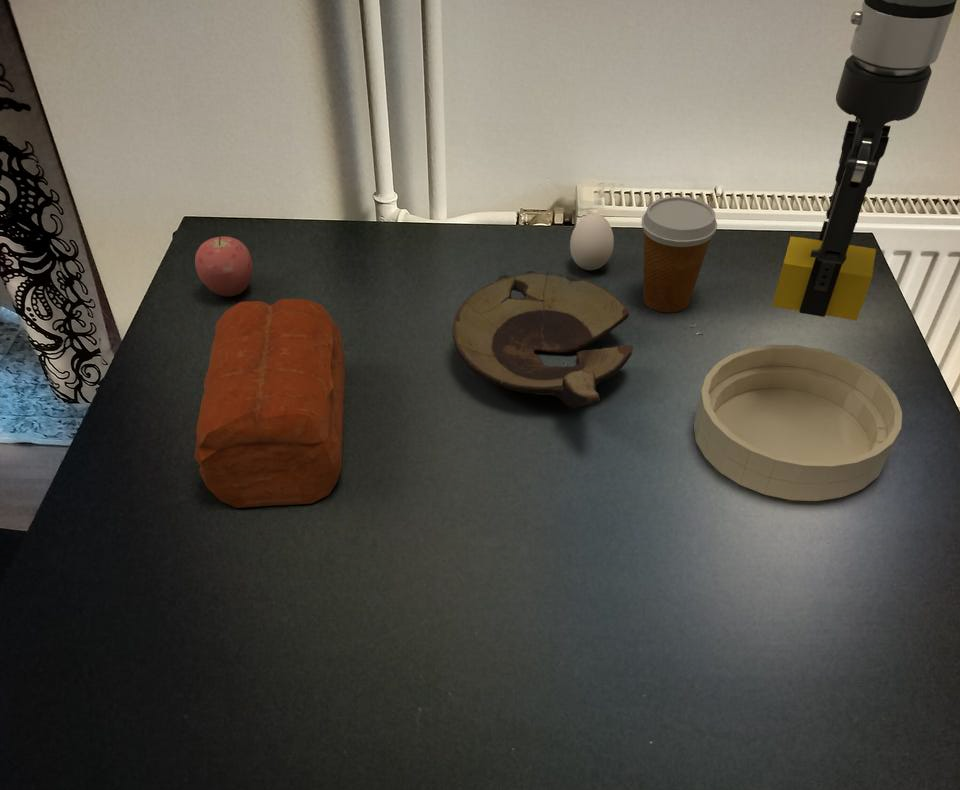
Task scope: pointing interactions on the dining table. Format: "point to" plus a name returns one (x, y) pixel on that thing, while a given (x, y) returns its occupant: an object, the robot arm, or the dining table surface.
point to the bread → (272, 405)
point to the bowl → (796, 422)
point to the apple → (224, 265)
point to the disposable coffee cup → (674, 250)
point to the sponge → (847, 286)
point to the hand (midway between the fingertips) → (815, 296)
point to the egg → (592, 242)
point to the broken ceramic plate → (541, 335)
